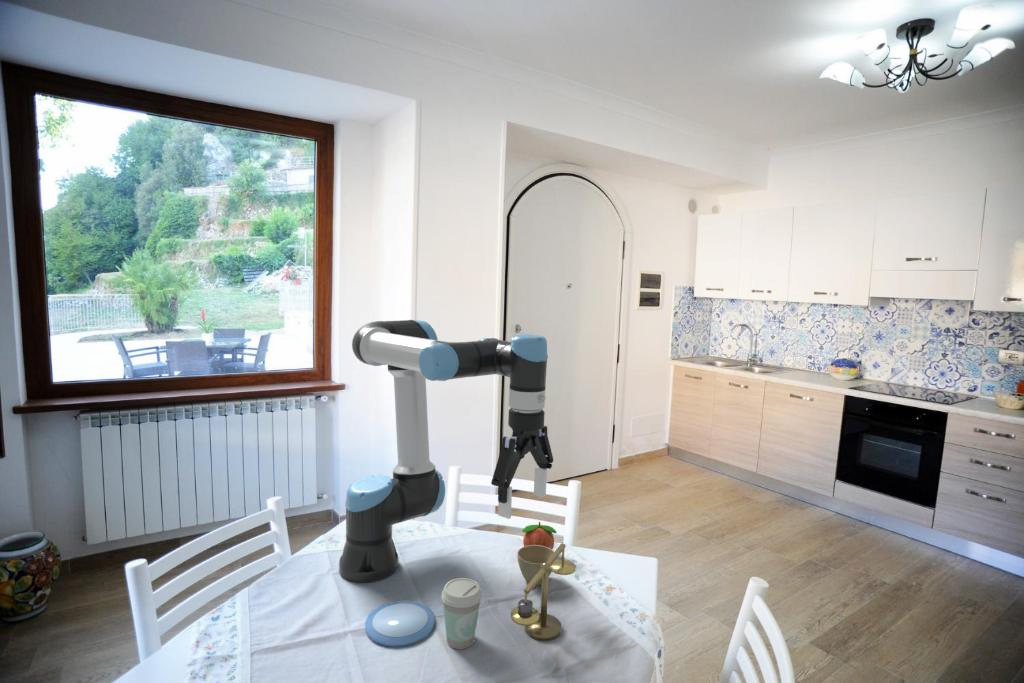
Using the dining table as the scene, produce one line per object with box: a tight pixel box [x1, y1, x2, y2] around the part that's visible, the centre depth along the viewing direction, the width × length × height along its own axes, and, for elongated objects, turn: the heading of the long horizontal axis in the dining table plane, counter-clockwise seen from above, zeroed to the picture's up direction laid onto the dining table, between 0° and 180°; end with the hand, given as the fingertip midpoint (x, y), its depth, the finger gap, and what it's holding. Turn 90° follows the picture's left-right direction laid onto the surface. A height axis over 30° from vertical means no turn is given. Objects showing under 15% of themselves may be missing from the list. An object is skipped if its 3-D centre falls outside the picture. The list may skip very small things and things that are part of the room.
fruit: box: [521, 521, 557, 551], centre depth 155 cm, size 9×10×10 cm
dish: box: [364, 600, 435, 648], centre depth 123 cm, size 15×15×1 cm
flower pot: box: [516, 545, 555, 586], centre depth 143 cm, size 10×10×7 cm
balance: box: [510, 542, 577, 642], centre depth 123 cm, size 8×21×17 cm, turn 145°
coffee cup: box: [440, 577, 483, 650], centre depth 118 cm, size 8×8×12 cm
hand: (522, 506), depth 119 cm, fingers open, 13 cm apart
